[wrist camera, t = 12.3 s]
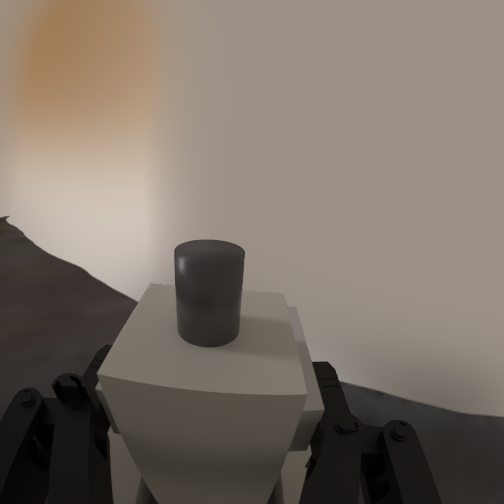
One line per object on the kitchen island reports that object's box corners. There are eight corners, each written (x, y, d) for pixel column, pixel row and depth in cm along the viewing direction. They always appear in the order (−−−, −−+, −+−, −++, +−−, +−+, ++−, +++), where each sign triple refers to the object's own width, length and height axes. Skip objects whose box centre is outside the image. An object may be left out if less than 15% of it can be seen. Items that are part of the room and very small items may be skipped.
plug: (258, 522, 10) (331, 306, 5) (165, 514, 10) (73, 285, 5) (255, 455, 15) (292, 230, 10) (176, 449, 15) (147, 221, 10)
